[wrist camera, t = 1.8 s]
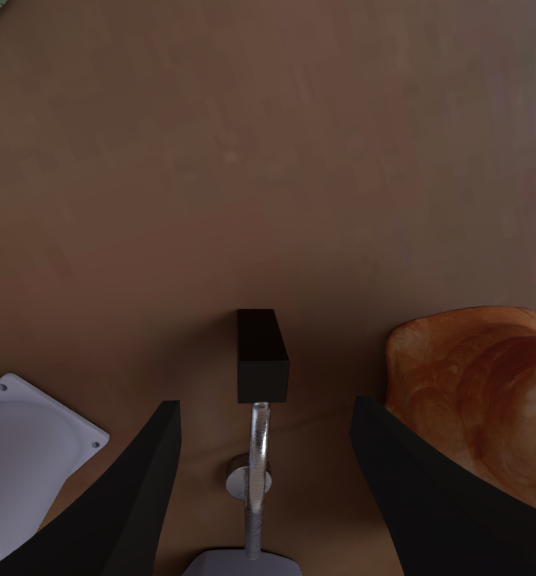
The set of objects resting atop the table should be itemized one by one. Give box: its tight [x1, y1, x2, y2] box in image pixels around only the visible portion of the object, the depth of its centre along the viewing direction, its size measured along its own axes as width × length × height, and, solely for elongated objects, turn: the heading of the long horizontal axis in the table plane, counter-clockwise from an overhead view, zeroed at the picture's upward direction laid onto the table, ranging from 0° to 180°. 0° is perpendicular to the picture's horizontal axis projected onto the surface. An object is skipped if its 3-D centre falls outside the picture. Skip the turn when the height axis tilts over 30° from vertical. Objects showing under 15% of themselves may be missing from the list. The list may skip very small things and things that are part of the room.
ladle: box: [226, 309, 290, 560], centre depth 19 cm, size 16×4×6 cm, turn 177°
